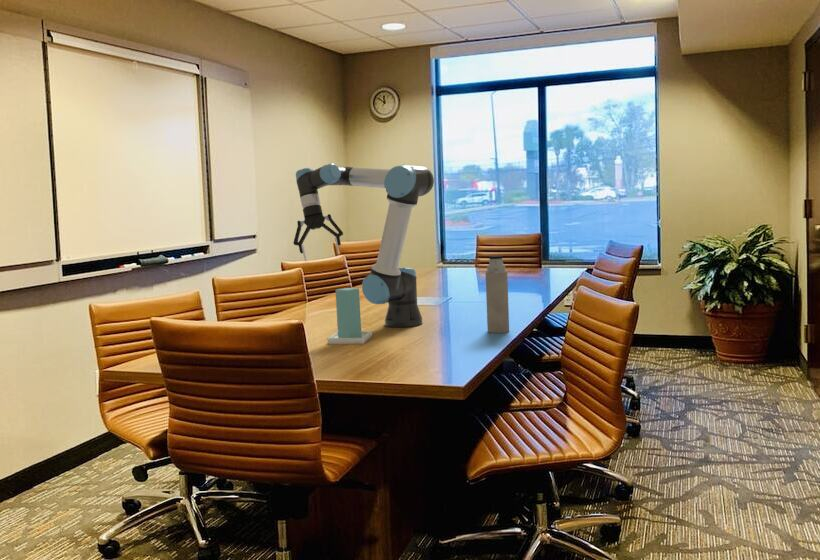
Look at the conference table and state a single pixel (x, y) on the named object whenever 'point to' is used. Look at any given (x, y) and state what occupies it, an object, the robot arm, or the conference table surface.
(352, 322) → the teal post
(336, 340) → the tray
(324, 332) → the conference table surface
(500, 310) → the thermos bottle
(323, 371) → the conference table surface
